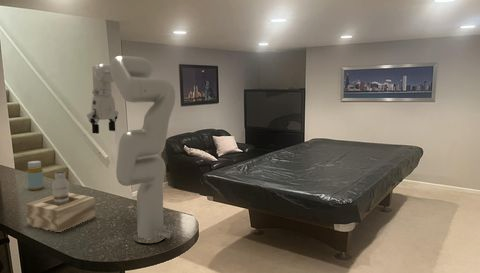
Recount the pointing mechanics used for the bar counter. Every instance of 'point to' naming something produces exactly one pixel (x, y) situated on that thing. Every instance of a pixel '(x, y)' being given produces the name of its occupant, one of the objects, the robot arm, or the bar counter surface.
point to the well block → (60, 212)
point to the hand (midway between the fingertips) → (104, 132)
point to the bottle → (35, 175)
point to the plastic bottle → (60, 189)
